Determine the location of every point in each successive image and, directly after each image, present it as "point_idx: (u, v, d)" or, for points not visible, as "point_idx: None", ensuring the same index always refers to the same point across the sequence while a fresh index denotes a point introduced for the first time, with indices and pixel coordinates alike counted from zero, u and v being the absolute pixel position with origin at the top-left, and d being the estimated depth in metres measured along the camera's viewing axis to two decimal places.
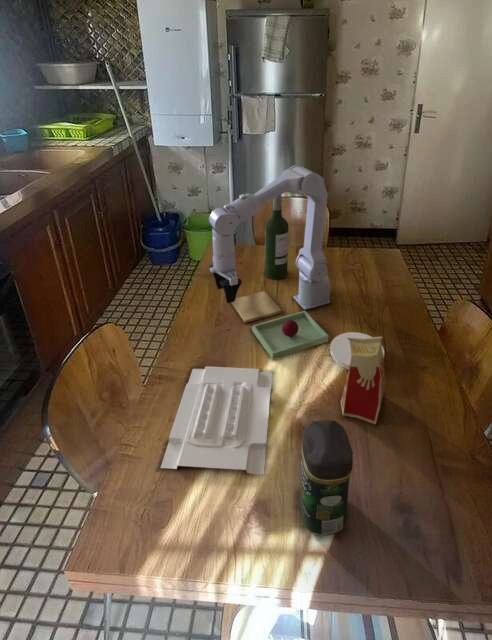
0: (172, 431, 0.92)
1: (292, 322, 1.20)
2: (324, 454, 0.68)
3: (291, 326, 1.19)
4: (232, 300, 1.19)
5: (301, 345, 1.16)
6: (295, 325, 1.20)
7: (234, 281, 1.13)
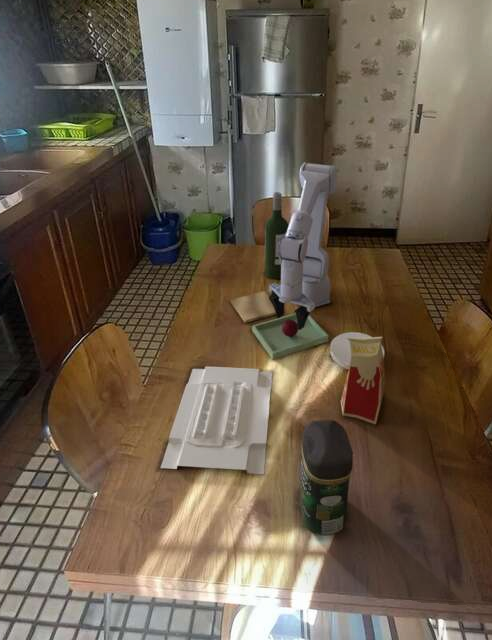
0: (172, 431, 0.92)
1: (292, 322, 1.20)
2: (324, 454, 0.68)
3: (291, 326, 1.19)
4: (303, 326, 1.18)
5: (301, 345, 1.16)
6: (295, 325, 1.20)
7: (312, 307, 1.12)
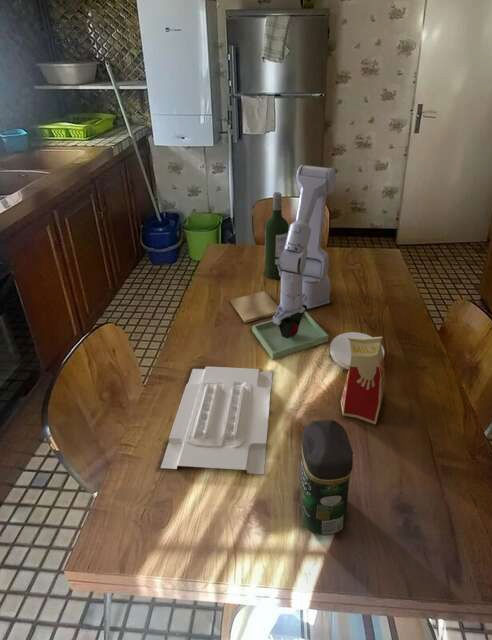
0: (172, 431, 0.92)
1: None
2: (324, 454, 0.68)
3: None
4: None
5: (301, 345, 1.16)
6: (295, 325, 1.20)
7: None
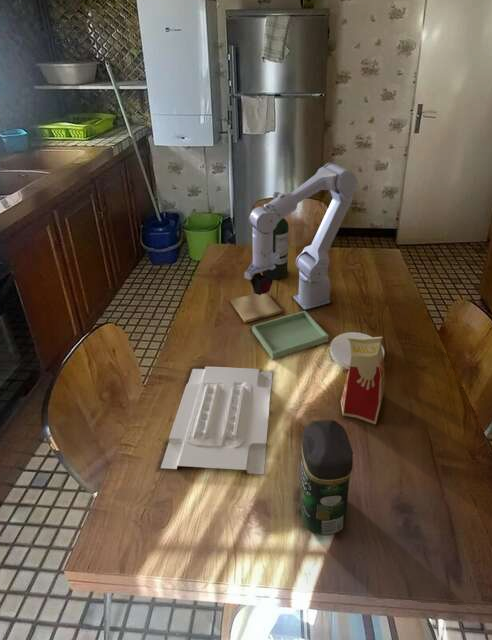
0: (172, 431, 0.92)
1: (264, 280, 1.27)
2: (324, 454, 0.68)
3: (263, 283, 1.26)
4: None
5: (301, 345, 1.16)
6: (267, 283, 1.26)
7: None
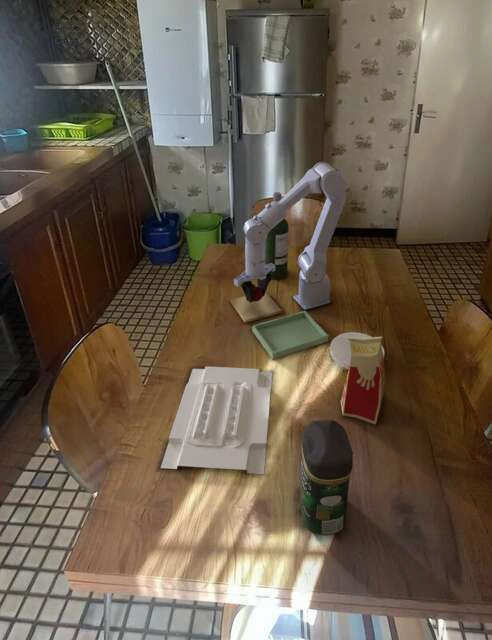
0: (172, 431, 0.92)
1: (257, 288, 1.31)
2: (324, 454, 0.68)
3: (254, 291, 1.31)
4: None
5: (301, 345, 1.16)
6: (259, 291, 1.31)
7: None
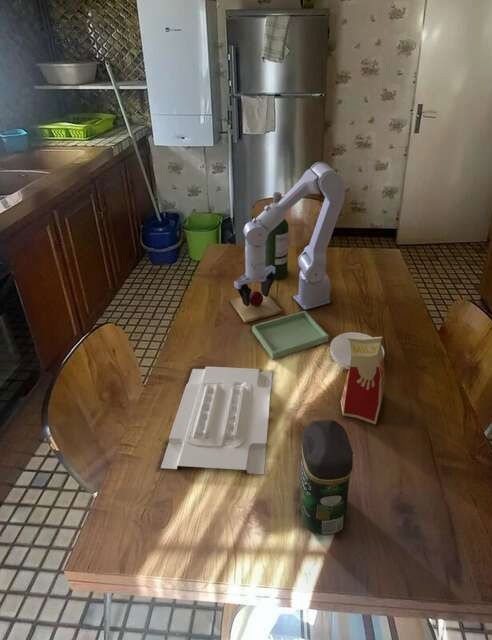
0: (172, 431, 0.92)
1: (257, 293, 1.32)
2: (324, 454, 0.68)
3: (255, 296, 1.31)
4: None
5: (301, 345, 1.16)
6: (259, 296, 1.32)
7: None
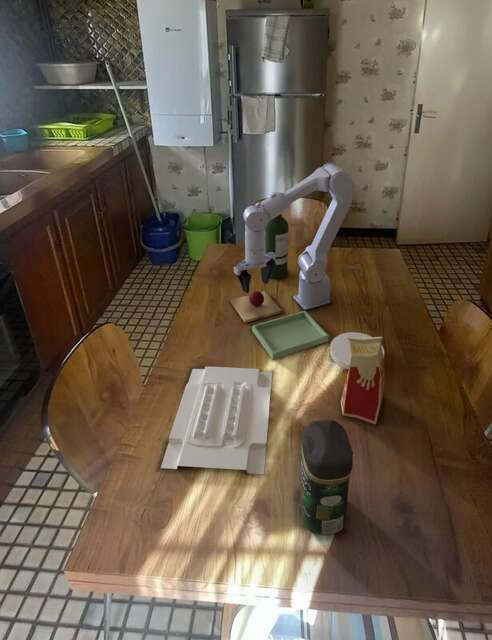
0: (172, 431, 0.92)
1: (259, 293, 1.32)
2: (324, 454, 0.68)
3: (256, 296, 1.31)
4: None
5: (301, 345, 1.16)
6: (261, 297, 1.32)
7: None
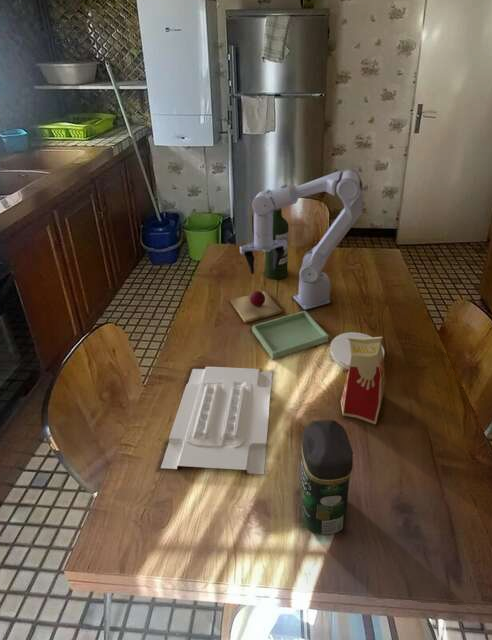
0: (172, 431, 0.92)
1: (261, 294, 1.32)
2: (324, 454, 0.68)
3: (258, 296, 1.31)
4: None
5: (301, 345, 1.16)
6: (262, 297, 1.32)
7: None
